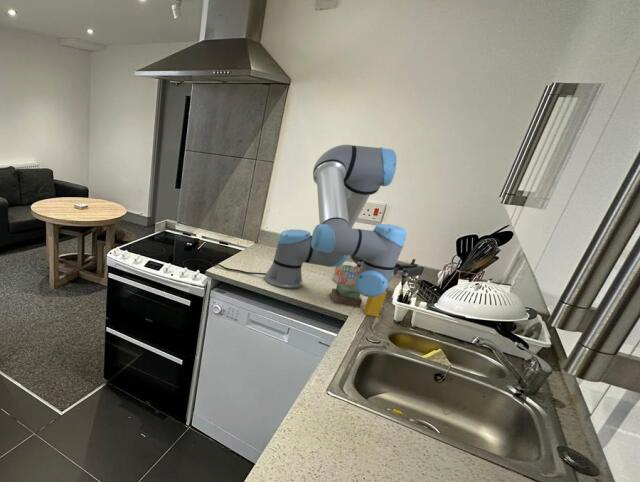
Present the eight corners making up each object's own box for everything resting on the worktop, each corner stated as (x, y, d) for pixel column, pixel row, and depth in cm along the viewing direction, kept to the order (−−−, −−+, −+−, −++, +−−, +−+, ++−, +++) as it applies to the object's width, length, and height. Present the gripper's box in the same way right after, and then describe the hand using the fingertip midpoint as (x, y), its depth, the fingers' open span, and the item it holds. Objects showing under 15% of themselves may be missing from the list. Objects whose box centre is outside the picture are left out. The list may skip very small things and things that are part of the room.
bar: (366, 314, 148) (375, 290, 144) (363, 310, 152) (371, 286, 148) (378, 316, 148) (387, 292, 144) (374, 312, 151) (383, 288, 147)
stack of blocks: (337, 284, 176) (345, 258, 171) (332, 279, 182) (340, 253, 177) (386, 289, 175) (396, 263, 170) (379, 284, 181) (388, 259, 176)
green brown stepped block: (335, 303, 156) (340, 289, 153) (330, 294, 164) (334, 281, 162) (359, 307, 154) (364, 293, 152) (353, 298, 162) (357, 285, 160)
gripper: (331, 271, 126) (346, 258, 141) (423, 297, 112) (429, 278, 127) (338, 249, 123) (352, 238, 138) (433, 272, 109) (438, 256, 124)
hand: (389, 257), depth 133 cm, fingers open, 13 cm apart
